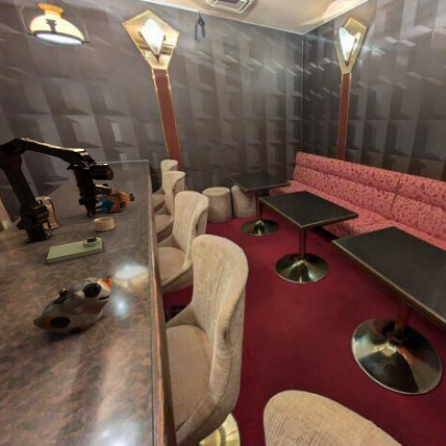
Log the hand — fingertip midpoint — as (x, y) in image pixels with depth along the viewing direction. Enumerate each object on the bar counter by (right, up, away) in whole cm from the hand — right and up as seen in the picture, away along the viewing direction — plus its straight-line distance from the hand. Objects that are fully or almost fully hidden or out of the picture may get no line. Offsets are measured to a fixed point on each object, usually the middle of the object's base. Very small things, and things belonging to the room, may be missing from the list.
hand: (94, 214), depth 110 cm
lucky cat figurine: (+33, -30, -43) cm, 62 cm away
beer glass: (-31, -6, +12) cm, 34 cm away
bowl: (-5, -7, +12) cm, 15 cm away
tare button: (+5, -11, -8) cm, 15 cm away
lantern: (-20, +3, +36) cm, 42 cm away
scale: (+1, -15, -10) cm, 18 cm away
